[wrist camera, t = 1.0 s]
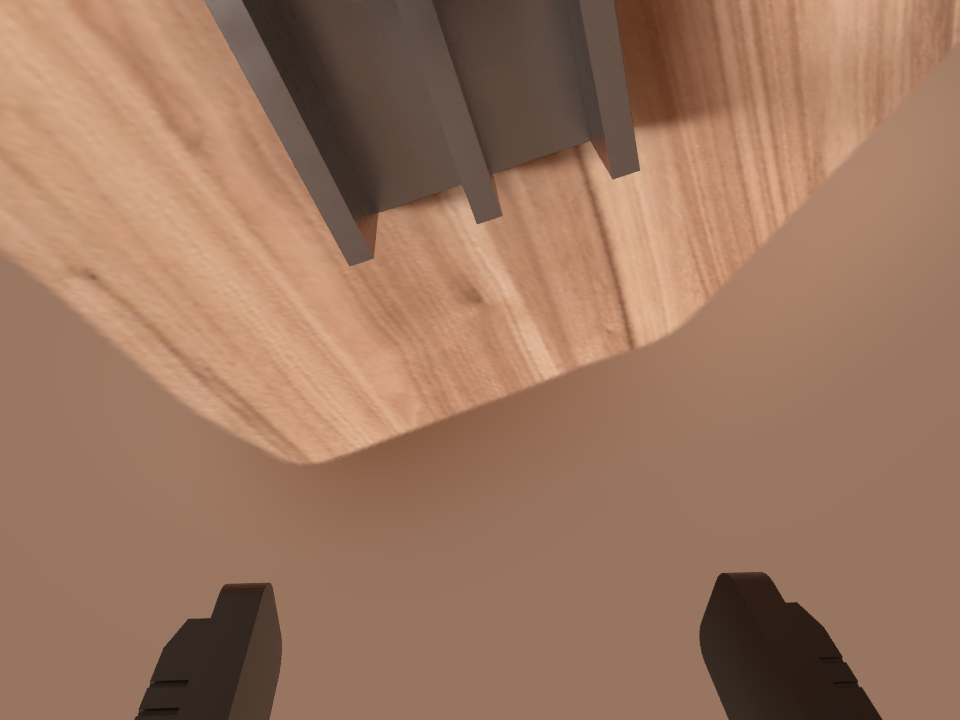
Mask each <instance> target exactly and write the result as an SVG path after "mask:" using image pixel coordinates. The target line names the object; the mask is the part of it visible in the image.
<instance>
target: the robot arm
mask: <svg viewBox="0 0 960 720" xmlns="http://www.w3.org/2000/svg"><path fill="white" fill-rule="evenodd" d="M281 640H282V639H281V632H280V626H279V621H278V615H277V609H276V604H275V598H274V592H273V588H272V585H271V583H244V584H225V585H224V586H223V588H222V589H221V591H220V594H219V596H218V599H217V602H216V605H215V608H214V610H213V614H212V616H211V618H208V619H207V618H205V619H188V620H187V621H186V622H185V623H184V625H183V626H182V627H181V628H180V629H179V631H178V632H177V633H176V634H175V635H174V636H173V638H172V639H171V640H170V641H169V642H168V643H167V645H166V646H165V647H164V648H163V651H162V653H161V656H160V658H159V661H158V663H157V666H156V668H155V671H154V673H153V676H152V678H151V680H150V687H149V688H147V690H146V693H145V695H144V698H143V700H142V703H141V705H140V707H139V714H138V716H136V718H135V720H269V718H270V714H271V709H272V705H273V700H274V695H275V691H276V686H277V682H278V677H279V672H280V665H281V655H282V641H281ZM700 646H701V651H702V655H703V658H704V661H705V664H706V666H707V669H708V671H709V673H710V676H711V678H712V681H713V683H714V685H715V688H716V690H717V693H718V695H719V697H720V700H721V702H722V705H723V707H724V709H725V712H726V714H727V716H728V719H729V720H882V718H881V717H880V715H879V714H878V712H877V710H876V709H875V707H874V706H873V704H872V703H871V701H870V699H869V698H868V696H867V695H866V693H865V691H864V690H863V688H862V687H859V686H858V680H857V679H856V677H855V676H854V674H853V672H852V671H851V669H850V668H849V666H848V665H847V663H846V662H845V663H844V662H843V660H842V655H841V654H840V652H839V650H838V649H837V647H836V646H835V644H834V642H833V641H832V639H831V638H830V636H829V635H828V633H827V631H826V630H825V628H824V627H823V626H822V625H821V624H820V623H819V622H818V621H816V619H814V618H813V617H812V616H811V615H810V614H809V613H808V612H807V611H806V610H805V609H804V608H803V607H801V606H800V605H799V604H798V603H797V602H795V603H785V601H784V600H783V598H782V596H781V594H780V593H779V591H778V589H777V588H776V586H775V584H774V583H773V581H772V580H771V578H770V577H769V576H768V575H767V574H765V573H763V572H745V573H744V572H743V573H721V574H720V575H719V576H718V578H717V580H716V583H715V586H714V589H713V591H712V594H711V597H710V600H709V602H708V605H707V608H706V611H705V613H704V616H703V619H702V622H701V625H700Z"/></svg>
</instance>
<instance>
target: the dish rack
mask: <svg viewBox="0 0 960 720" xmlns="http://www.w3.org/2000/svg"><path fill="white" fill-rule="evenodd" d="M204 1H205V3H206V5H207V6H208V8H209V10H210V12H211V14H212V16H213V17H214V19H215V21H216V23H217V25H218V27H219V28H220V30H221V32H222V34H223V36H224V38H225V39H226V41H227V43H228V45H229V47H230V49H231V50H232V52H233V54H234V56H235V58H236V60H237V61H238V63H239V65H240V67H241V69H242V70H243V72H244V74H245V76H246V78H247V80H248V81H249V83H250V85H251V87H252V89H253V91H254V92H255V94H256V96H257V98H258V100H259V102H260V103H261V105H262V107H263V109H264V111H265V113H266V114H267V116H268V118H269V120H270V122H271V124H272V125H273V127H274V129H275V131H276V133H277V134H278V136H279V138H280V140H281V142H282V144H283V145H284V147H285V149H286V151H287V153H288V155H289V156H290V158H291V160H292V162H293V164H294V166H295V167H296V169H297V171H298V173H299V175H300V177H301V178H302V180H303V182H304V184H305V186H306V188H307V189H308V191H309V193H310V195H311V197H312V199H313V200H314V202H315V204H316V206H317V208H318V209H319V211H320V213H321V215H322V217H323V219H324V220H325V222H326V224H327V226H328V228H329V230H330V231H331V233H332V235H333V237H334V239H335V241H336V242H337V244H338V246H339V248H340V250H341V252H342V253H343V255H344V257H345V259H346V261H347V263H348V264H349V266H353V265H356V264H359V263H362V262H365V261H368V260H371V259H374V250H375V240H376V230H377V220H378V213H379V212H382V211H385V210H388V209H391V208H394V207H397V206H400V205H403V204H406V203H409V202H412V201H415V200H418V199H420V198H423V197H426V196H429V195H432V194H435V193H438V192H441V191H444V190H447V189H450V188H453V187H456V186H458V185H461V184H463V187H464V190H465V193H466V195H467V198H468V201H469V204H470V206H471V209H472V212H473V215H474V217H475V220H476V223H477V224H480V223H483V222H486V221H489V220H492V219H495V218H498V217H501V216H503V215H502V211H501V207H500V202H499V198H498V194H497V189H496V185H495V181H494V176H493V174H494V173H497V172H499V171H502V170H505V169H508V168H511V167H514V166H517V165H520V164H523V163H526V162H529V161H532V160H535V159H538V158H540V157H543V156H546V155H549V154H552V153H555V152H558V151H561V150H564V149H567V148H570V147H573V146H576V145H579V144H581V143H584V142H587V141H591V143H592V144H593V146H594V148H595V150H596V151H597V153H598V155H599V157H600V158H601V160H602V162H603V163H604V165H605V167H606V169H607V170H608V172H609V174H610V176H611V177H612V179H616V178H619V177H622V176H625V175H628V174H631V173H634V172H637V171H640V167H639V160H638V154H637V147H636V141H635V134H634V128H633V121H632V115H631V108H630V102H629V95H628V89H627V82H626V76H625V69H624V63H623V56H622V50H621V43H620V37H619V30H618V24H617V17H616V11H615V4H614V0H204Z"/></svg>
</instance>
